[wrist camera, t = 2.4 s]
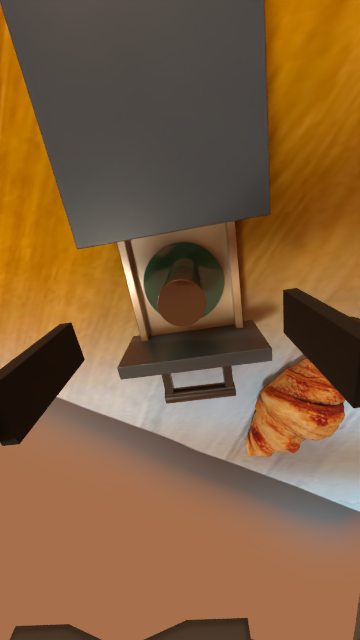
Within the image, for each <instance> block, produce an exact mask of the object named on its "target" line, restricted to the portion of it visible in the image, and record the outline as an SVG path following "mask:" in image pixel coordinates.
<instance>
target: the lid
mask: <svg viewBox="0 0 360 640" xmlns="http://www.w3.org/2000/svg"><path fill="white" fill-rule="evenodd" d="M143 283H144V291H145V295H146V297H147V299H148V301H149V303H150V305H151V306H152V307H153V308H154V309H155V310H156V311H157V312H158V313H159V314H160V315H161V316H162V317H163V318H164V319H165V320H166V321H167V322H168V323H170V324H172V325H175V326H189V325H192V324H194V323H196V322H197V321H198V320H199V319H200V318H202V317H204V316H206V315H207V314H209V313H210V312H211V311H212V310H213V309H214V308H215V307H216V305H217V304H218V302H219V301H220V299H221V296H222V293H223V289H224V276H223V271H222V268H221V266H220V264H219V262H218V260H217V259H216V258H215V256H214V255H213V254H212V253H211V252H210V251H208V250H207V249H206V248H204V247H202V246H200V245H198V244H194V243H190V242H178V243H173V244H170V245H168V246H165V247H164V248H162V249H161V250H159V251H158V252H157V253H156V254H155V255H154V256H153V257H152V258H151V260H150V261H149V263H148V265H147V267H146V269H145V273H144V280H143Z"/></svg>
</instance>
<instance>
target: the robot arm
mask: <svg viewBox="0 0 360 640" xmlns="http://www.w3.org/2000/svg"><path fill="white" fill-rule="evenodd" d="M283 314H284V333H285V334H286V336H287V337H288V338H289V339H290V340H291V341H292V342H293V343H294V344H295V345H296V346H297V347H298V349H299V350H300V351H301V352H302V353H303V354H304V355H305V356H306V357H307V358H308V359H309V360H310V362H311V363H312V364H313V365H314V366H315V367H316V368H317V369H318V370H319V371H320V372H321V373H322V375H323V376H324V377H325V378H326V379H327V380H328V381H329V382H330V383H331V384H332V385H333V386H334V388H335V389H336V390H337V391H338V392H339V393H340V394H341V395H342V396H343V397H344V398H345V399H346V401H347V402H348V403H349V404H350V405H351V406H352V407H353V408H359V407H360V319H359V318H355V317H349V316H347V315H345V314H343V313H341V312H339V311H338V310H336V309H334V308H332V307H330V306H328V305H327V304H325V303H323V302H321V301H319V300H318V299H316V298H314V297H312V296H310V295H308V294H307V293H305V292H303V291H301V290H299V289H298V288H294V289H287V290H283ZM84 360H85V359H84V356H83V354H82V351H81V348H80V345H79V343H78V340H77V337H76V334H75V332H74V329H73V326H72V323H65V324H59V325H58V326H57V327H56V328H54V329H53V330H52V331H50V332H49V333H48V334H46V335H45V336H44V337H42V338H41V339H40V340H38V341H37V342H36V343H34V344H33V345H32V346H30V347H29V348H28V349H26V350H25V351H24V352H23V353H21V354H20V355H19V356H17V357H16V358H15V359H13V360H12V361H11V362H9V363H8V364H7V365H5V366H4V367H3V368H1V369H0V443H1V444H2V446H5V445H15V444H20V443H21V441H22V440H23V439H24V438H25V436H26V435H27V434H28V432H29V431H30V430H31V429H32V427H33V426H34V425H35V423H36V422H37V421H38V419H39V418H40V417H41V416H42V414H43V413H44V412H45V411H46V409H47V408H48V406H49V405H50V404H51V403H52V401H53V400H54V399H55V398H56V396H57V395H58V394H59V392H60V391H61V390H62V389H63V387H64V386H65V385H66V383H67V382H68V381H69V380H70V378H71V377H72V376H73V374H74V373H75V372H76V371H77V369H78V368H79V367H80V365H81V364H82V363H83V361H84ZM10 640H101V639H99V638H97V637H94V636H92V635H90V634H88V633H86V632H84V631H82V630H80V629H77V628H75V627H73V626H71V625H69V624H65V625H36V626H16V627H15V629H14V632H13V634H12V636H11V638H10ZM145 640H253V639H251V638H250V631H249V625H248V618H237V619H236V618H234V619H205V620H186V621H184V622H182V623H180V624H177V625H175V626H173V627H171V628H169V629H167V630H164V631H162V632H160V633H158V634H155V635H153V636H151V637H149V638H147V639H145ZM353 640H360V597H359V603H358V611H357V618H356V625H355V632H354V638H353Z"/></svg>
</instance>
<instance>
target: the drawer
mask: <svg viewBox="0 0 360 640" xmlns="http://www.w3.org/2000/svg"><path fill="white" fill-rule="evenodd" d="M178 242H190V243H194V244H198V245H200V246H202V247H204V248H206V249H207V250H208V251H210V252H211V253H212V254H213V255H214V256H215V258H216V259H217V260H218V262H219V264H220V266H221V268H222V271H223V276H224V289H223V293H222V296H221V299H220V301H219V302H218V304H217V305H216V307H215V308H214V309H213V310H212V311H211V312H210V313H209V314H207V315H206V316H204V317H202V318H200V319H199V320H198V321H197V322H196V323H194V324H192V325H189V326H175V325H172V324H170V323H168V322H167V321H166V320H165V319H164V318H163V317H162V316H161V315H160V314H159V313H158V312H157V311H156V310H155V309H154V308H153V307H152V306H151V305H150V303H149V301H148V299H147V297H146V295H145V291H144V283H143V280H144V273H145V269H146V267H147V265H148V263H149V261H150V260H151V258H152V257H153V256H154V255H155V254H156V253H157V252H158V251H159V250H161V249H162V248H164V247H165V246H168V245H170V244H173V243H178ZM117 245H118V248H119V252H120V256H121V260H122V264H123V268H124V272H125V276H126V280H127V284H128V288H129V292H130V296H131V300H132V304H133V308H134V312H135V316H136V320H137V324H138V328H139V332H140V336H134V337H133V338H132V340H131V342H130V344H129V346H128V348H127V350H126V352H125V354H124V356H123V358H122V360H121V362H120V364H119V366H118V372H119V375H120V378H121V379H128V378H136V377H144V376H152V375H160V374H162V378H163V382H164V387H165V400H166V403H175V402H184V401H193V400H202V399H211V398H220V397H229V396H236V390H235V385H234V382H233V377H232V368H231V366H233V365H241V364H249V363H257V362H265V361H272V348H271V346H270V345H269V343H268V342H267V340H266V339H265V338H264V336H263V335H262V333H261V332H260V330H259V329H258V327H257V326H256V325H255V323H254V322H253V320H246V321H243V320H242V307H241V294H240V282H239V269H238V256H237V244H236V231H235V221H232V222H226V223H221V224H215V225H210V226H204V227H198V228H193V229H187V230H182V231H176V232H171V233H165V234H160V235H154V236H149V237H143V238H138V239H132V240H127V241H121V242H117ZM217 367H223V375H224V382H223V383H214V384H206V385H197V386H189V387H180V388H174V385H173V381H172V376H171V373H177V372H185V371H193V370H201V369H209V368H217Z"/></svg>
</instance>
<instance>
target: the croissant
mask: <svg viewBox="0 0 360 640" xmlns="http://www.w3.org/2000/svg"><path fill="white" fill-rule="evenodd" d="M345 400H346V399H345V398H344V397H343V396H342V395H341V394H340V393H339V392H338V391H337V390H336V389H335V388H334V386H333V385H332V384H331V383H330V382H329V381H328V380H327V379H326V378H325V377H324V376H323V375H322V373H321V372H320V371H319V370H318V369H317V368H316V367H315V366H314V365H313V364H312V363H311V362H310V360H309V359H308V358H306V359H304V360H303V361H301V362H300V363H299V364H297V365H296V366H294V367H291V368H288V369H286V370H285V371H284V372H283V373H281V374H280V375H279V376H278V377H277V378H276V380H274V381H272V382H271V383H270V384H269V385H268V386H267V387H265V388H264V389H263V391H262V392H261V395H260V396H259V398H258V400H257V402H256V406H255V408H256V413H255V414H254V416H253V420H252V422H251V431H250V432H249V434H248V436H247V440H246V452H247V454H248V455H249V456H253V455H258V456H266V457H269V456H271V455H272V454H273V453H274V452H281V451H286V452H292V453H295V452H297V451H298V450H299V447H300V442H301V441H304V440H305V439H307V438H309V439H312V440H320V439H323V438H325V437H327V436H331V435H332V434H333V433H334V432H335V431H336V430H337V429H338V427H339V424H340V423H341V422H342V421H343V419H344V417H345V414H344V405H343V403H344V401H345Z"/></svg>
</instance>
